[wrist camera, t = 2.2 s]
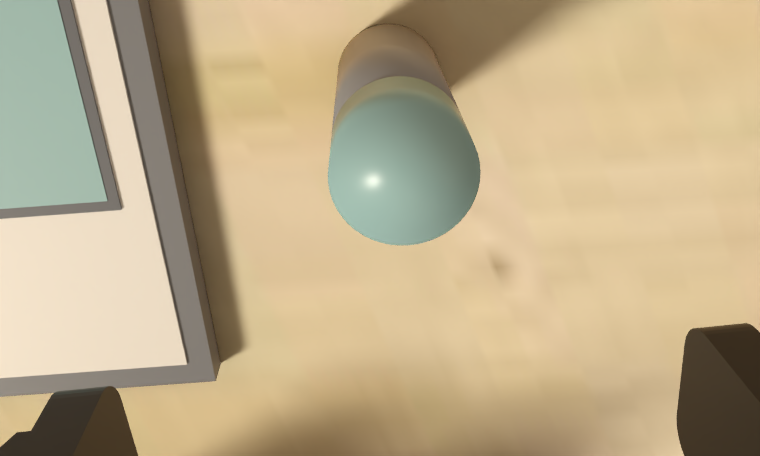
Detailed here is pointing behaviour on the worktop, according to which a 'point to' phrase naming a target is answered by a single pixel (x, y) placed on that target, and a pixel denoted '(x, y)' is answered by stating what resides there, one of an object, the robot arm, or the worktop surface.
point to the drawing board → (93, 207)
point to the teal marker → (398, 141)
